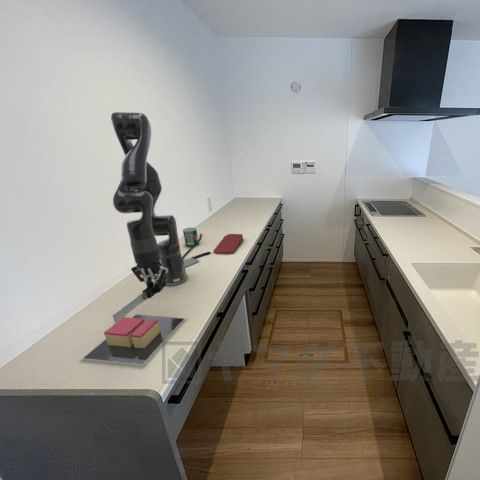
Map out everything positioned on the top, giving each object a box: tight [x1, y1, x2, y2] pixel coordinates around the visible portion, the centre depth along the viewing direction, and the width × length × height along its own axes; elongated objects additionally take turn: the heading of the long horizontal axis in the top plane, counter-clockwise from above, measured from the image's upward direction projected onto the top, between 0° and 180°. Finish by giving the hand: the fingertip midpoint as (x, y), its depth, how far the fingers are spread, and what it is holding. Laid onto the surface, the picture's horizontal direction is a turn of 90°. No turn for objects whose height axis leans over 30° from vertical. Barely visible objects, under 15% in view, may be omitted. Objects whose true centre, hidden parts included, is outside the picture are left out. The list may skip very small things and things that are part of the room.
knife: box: [112, 281, 167, 324], centre depth 90 cm, size 22×2×3 cm, turn 174°
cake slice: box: [131, 319, 160, 348], centre depth 89 cm, size 8×4×5 cm, turn 174°
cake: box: [103, 316, 145, 347], centre depth 90 cm, size 8×8×5 cm
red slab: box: [213, 233, 244, 255], centre depth 171 cm, size 12×5×25 cm
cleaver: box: [183, 251, 211, 268], centre depth 148 cm, size 29×1×10 cm
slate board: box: [83, 314, 184, 365], centre depth 92 cm, size 22×20×1 cm
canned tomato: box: [182, 227, 200, 249], centre depth 170 cm, size 8×8×11 cm
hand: (155, 291), depth 97 cm, fingers closed on knife, 2 cm apart
